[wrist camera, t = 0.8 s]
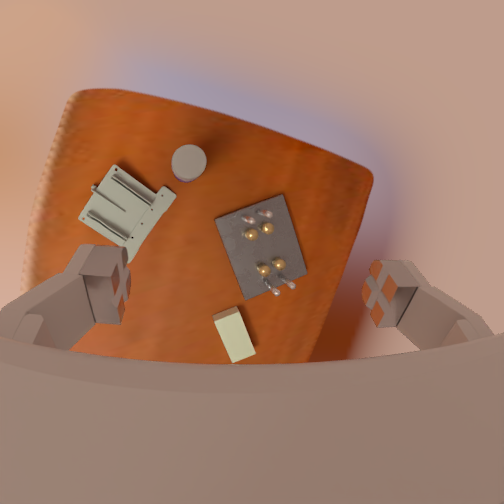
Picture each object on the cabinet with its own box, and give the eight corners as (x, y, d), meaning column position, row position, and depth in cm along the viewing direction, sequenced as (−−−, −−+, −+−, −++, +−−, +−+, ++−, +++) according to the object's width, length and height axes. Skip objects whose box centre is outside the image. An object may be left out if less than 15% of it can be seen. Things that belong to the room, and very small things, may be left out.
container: (180, 187, 51) (180, 186, 37) (168, 163, 50) (164, 153, 36) (204, 175, 52) (213, 169, 38) (192, 151, 51) (197, 137, 36)
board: (252, 346, 61) (255, 353, 58) (229, 355, 60) (232, 363, 57) (236, 305, 58) (239, 311, 55) (212, 314, 58) (214, 321, 55)
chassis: (304, 271, 60) (320, 282, 53) (243, 297, 58) (253, 312, 51) (280, 194, 56) (294, 195, 49) (213, 219, 54) (219, 223, 47)
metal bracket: (66, 228, 43) (117, 151, 43) (70, 219, 48) (116, 150, 47) (134, 270, 51) (184, 201, 51) (131, 258, 56) (176, 194, 55)
